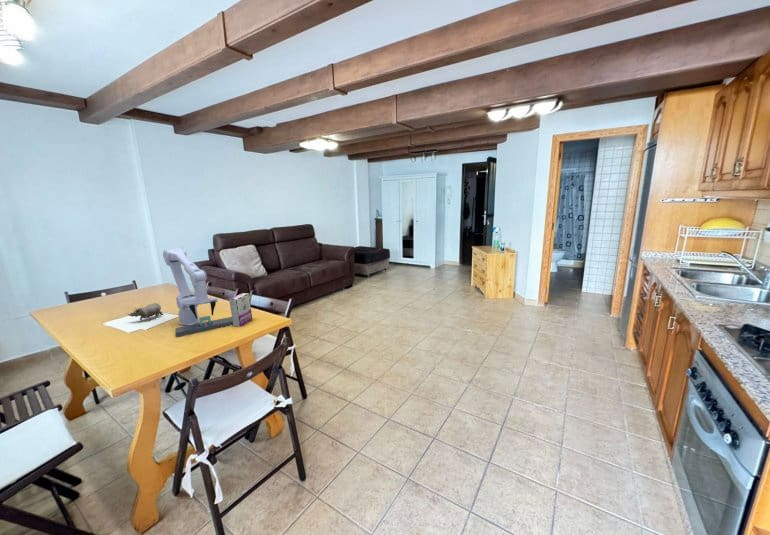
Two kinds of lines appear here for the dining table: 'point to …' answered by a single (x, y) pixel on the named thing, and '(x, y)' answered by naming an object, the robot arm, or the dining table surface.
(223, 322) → the rail
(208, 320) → the clip
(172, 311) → the dining table surface
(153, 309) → the animal figurine
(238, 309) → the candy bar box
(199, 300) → the robot arm
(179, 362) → the dining table surface
